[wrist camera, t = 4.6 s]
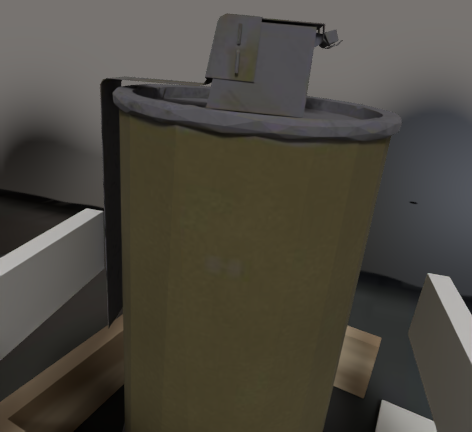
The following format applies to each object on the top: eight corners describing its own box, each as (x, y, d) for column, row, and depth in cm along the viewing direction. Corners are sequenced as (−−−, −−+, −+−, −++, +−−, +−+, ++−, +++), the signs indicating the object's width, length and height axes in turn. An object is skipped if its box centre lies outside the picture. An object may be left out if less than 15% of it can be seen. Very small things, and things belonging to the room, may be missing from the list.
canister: (310, 376, 26) (378, 43, 19) (333, 564, 16) (493, 18, 9) (147, 354, 26) (151, 22, 19) (73, 522, 17) (24, -23, 9)
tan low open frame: (-20, 491, 17) (-33, 425, 16) (184, 312, 31) (188, 267, 29) (275, 735, 12) (296, 669, 10) (366, 388, 25) (381, 338, 24)
